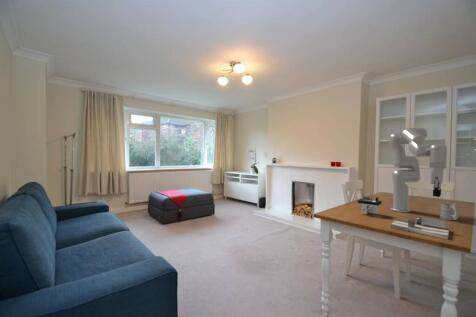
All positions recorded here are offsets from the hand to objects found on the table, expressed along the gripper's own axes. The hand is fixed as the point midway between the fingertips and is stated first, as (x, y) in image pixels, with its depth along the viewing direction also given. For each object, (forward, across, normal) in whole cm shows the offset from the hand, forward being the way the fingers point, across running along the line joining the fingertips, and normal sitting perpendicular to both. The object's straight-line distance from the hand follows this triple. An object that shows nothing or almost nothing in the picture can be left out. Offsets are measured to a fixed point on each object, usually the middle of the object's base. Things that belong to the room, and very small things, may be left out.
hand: (436, 195), depth 135 cm
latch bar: (+17, +7, -2) cm, 19 cm away
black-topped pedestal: (+20, -4, -37) cm, 42 cm away
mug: (+20, -27, +5) cm, 34 cm away
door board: (+19, +11, -6) cm, 23 cm away
